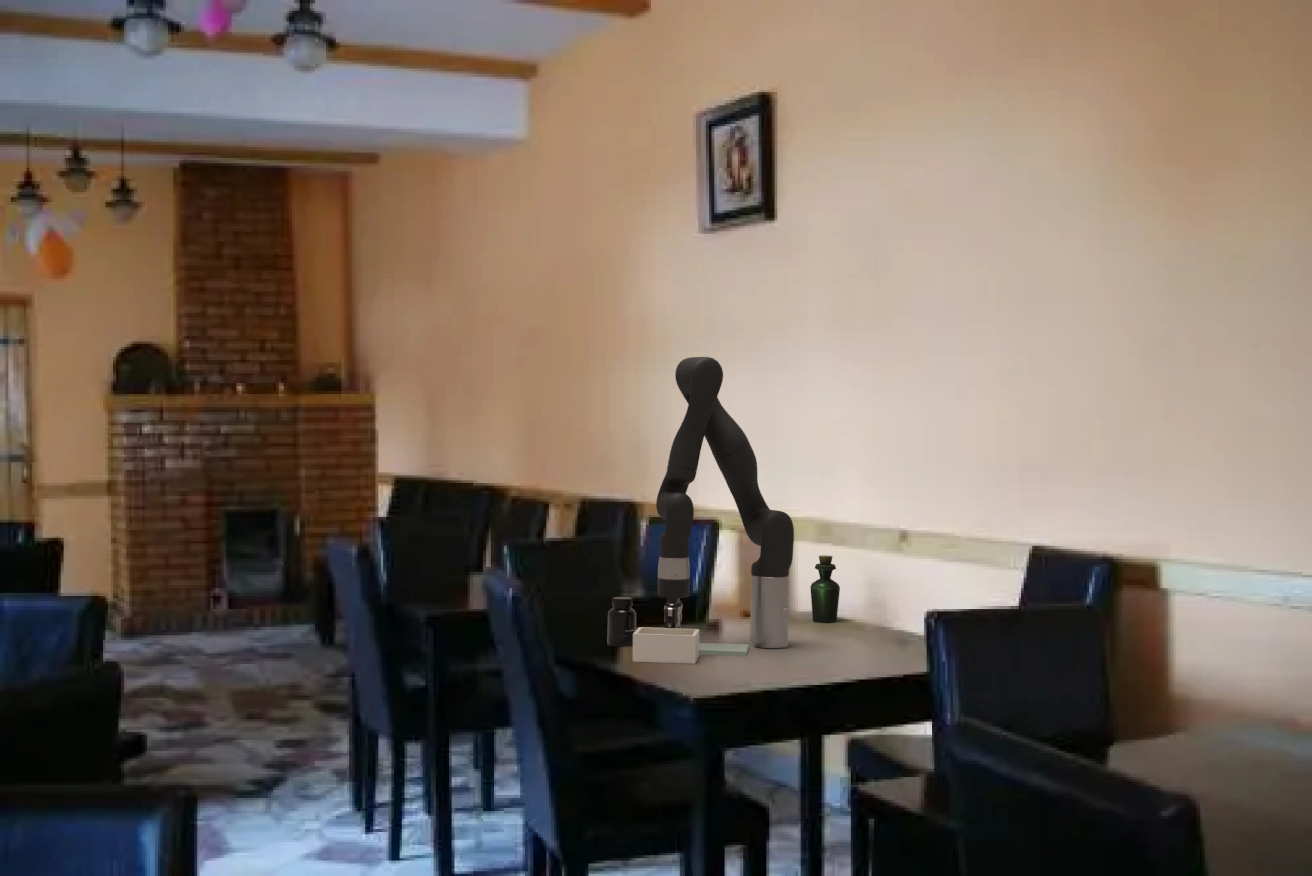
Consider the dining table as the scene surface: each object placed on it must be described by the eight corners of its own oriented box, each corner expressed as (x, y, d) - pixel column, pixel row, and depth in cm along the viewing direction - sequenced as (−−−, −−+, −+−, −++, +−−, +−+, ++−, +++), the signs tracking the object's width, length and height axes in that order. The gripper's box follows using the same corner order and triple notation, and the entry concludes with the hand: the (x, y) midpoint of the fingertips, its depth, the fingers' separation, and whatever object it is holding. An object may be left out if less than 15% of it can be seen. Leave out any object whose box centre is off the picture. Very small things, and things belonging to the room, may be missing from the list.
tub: (699, 659, 318) (699, 629, 318) (694, 667, 308) (695, 635, 308) (638, 657, 320) (639, 627, 320) (632, 664, 310) (632, 633, 310)
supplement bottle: (632, 650, 329) (632, 600, 329) (604, 649, 331) (604, 599, 330) (638, 645, 336) (639, 596, 336) (611, 644, 337) (611, 595, 337)
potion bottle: (826, 618, 387) (827, 554, 387) (845, 622, 380) (846, 556, 380) (803, 620, 382) (804, 555, 382) (822, 624, 376) (823, 558, 375)
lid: (748, 652, 330) (748, 641, 330) (745, 660, 319) (746, 648, 319) (667, 649, 332) (668, 638, 332) (662, 657, 322) (662, 645, 322)
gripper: (686, 580, 319) (685, 653, 319) (692, 573, 333) (691, 643, 333) (654, 579, 320) (653, 652, 320) (661, 572, 334) (660, 642, 334)
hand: (672, 647), depth 327 cm, fingers open, 5 cm apart
